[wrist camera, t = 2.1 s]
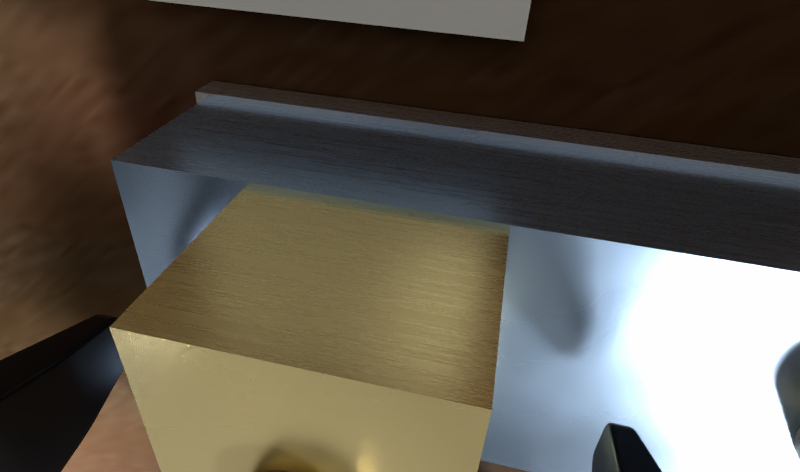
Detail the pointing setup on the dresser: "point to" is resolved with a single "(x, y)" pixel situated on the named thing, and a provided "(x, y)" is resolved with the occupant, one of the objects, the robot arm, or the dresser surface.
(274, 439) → the yellow knobbed box
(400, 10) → the felt mat
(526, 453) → the light blue box
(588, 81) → the dresser surface
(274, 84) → the dresser surface
